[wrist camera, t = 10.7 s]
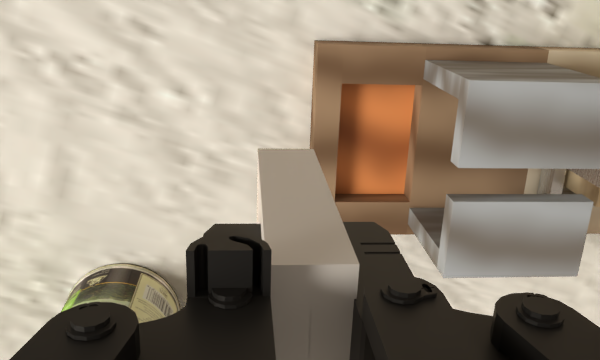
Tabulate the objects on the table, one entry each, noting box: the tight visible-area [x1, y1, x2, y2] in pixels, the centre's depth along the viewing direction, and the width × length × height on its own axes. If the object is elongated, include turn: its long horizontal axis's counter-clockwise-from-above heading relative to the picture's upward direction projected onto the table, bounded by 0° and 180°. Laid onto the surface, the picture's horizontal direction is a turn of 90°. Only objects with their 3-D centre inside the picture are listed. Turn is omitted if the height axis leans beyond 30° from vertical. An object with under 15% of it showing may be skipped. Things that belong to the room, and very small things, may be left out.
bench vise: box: [310, 40, 600, 278], centre depth 44 cm, size 16×27×12 cm, turn 88°
